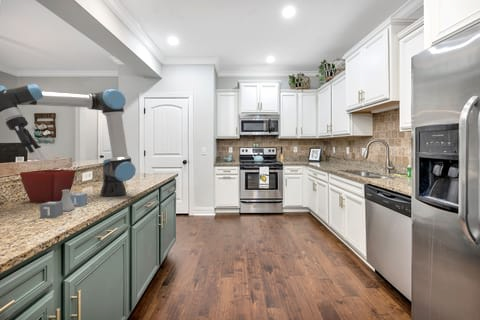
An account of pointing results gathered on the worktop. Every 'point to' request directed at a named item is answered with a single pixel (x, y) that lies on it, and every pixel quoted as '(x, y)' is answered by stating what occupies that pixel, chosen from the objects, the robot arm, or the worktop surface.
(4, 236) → the worktop surface
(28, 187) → the plant pot
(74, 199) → the slate-blue marked block
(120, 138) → the robot arm
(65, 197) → the flask
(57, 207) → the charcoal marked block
